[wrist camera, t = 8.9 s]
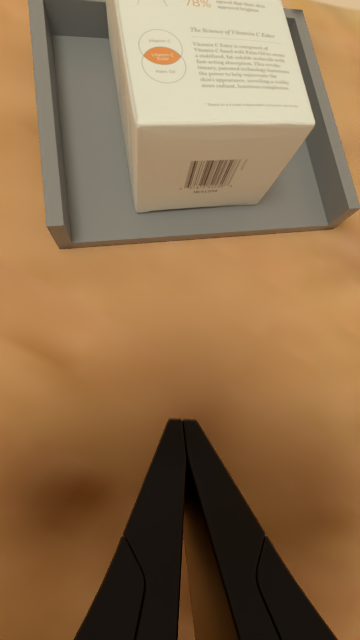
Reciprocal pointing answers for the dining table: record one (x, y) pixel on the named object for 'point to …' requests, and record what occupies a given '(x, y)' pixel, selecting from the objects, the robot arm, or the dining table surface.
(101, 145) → the tray
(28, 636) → the dining table surface
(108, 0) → the small box
